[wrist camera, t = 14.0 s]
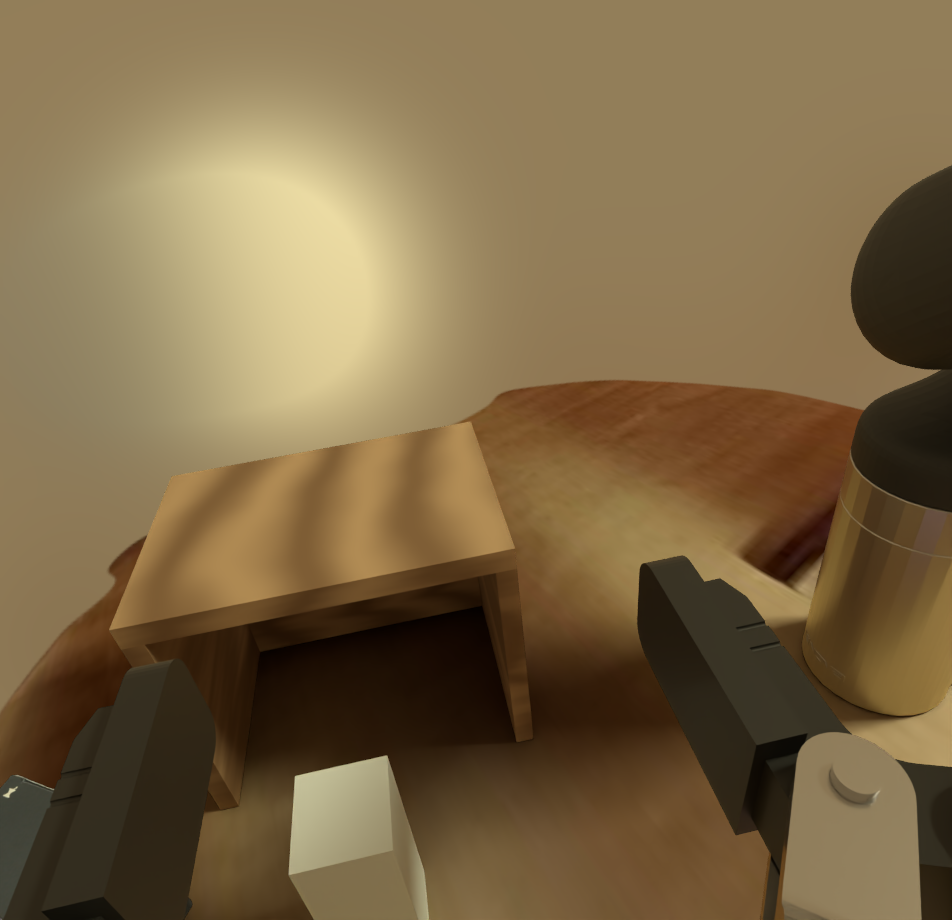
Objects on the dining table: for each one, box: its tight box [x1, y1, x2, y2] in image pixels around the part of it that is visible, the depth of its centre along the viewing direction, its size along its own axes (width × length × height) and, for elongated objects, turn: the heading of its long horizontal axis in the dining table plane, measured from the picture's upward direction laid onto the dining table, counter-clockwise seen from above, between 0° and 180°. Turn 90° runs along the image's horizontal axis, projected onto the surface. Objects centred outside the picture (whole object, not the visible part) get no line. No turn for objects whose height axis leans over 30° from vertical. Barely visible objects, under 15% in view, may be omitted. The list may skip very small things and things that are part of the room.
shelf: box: [109, 422, 534, 810], centre depth 44 cm, size 21×14×18 cm
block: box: [289, 755, 429, 920], centre depth 33 cm, size 4×4×12 cm
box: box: [0, 775, 192, 920], centre depth 34 cm, size 8×6×11 cm
